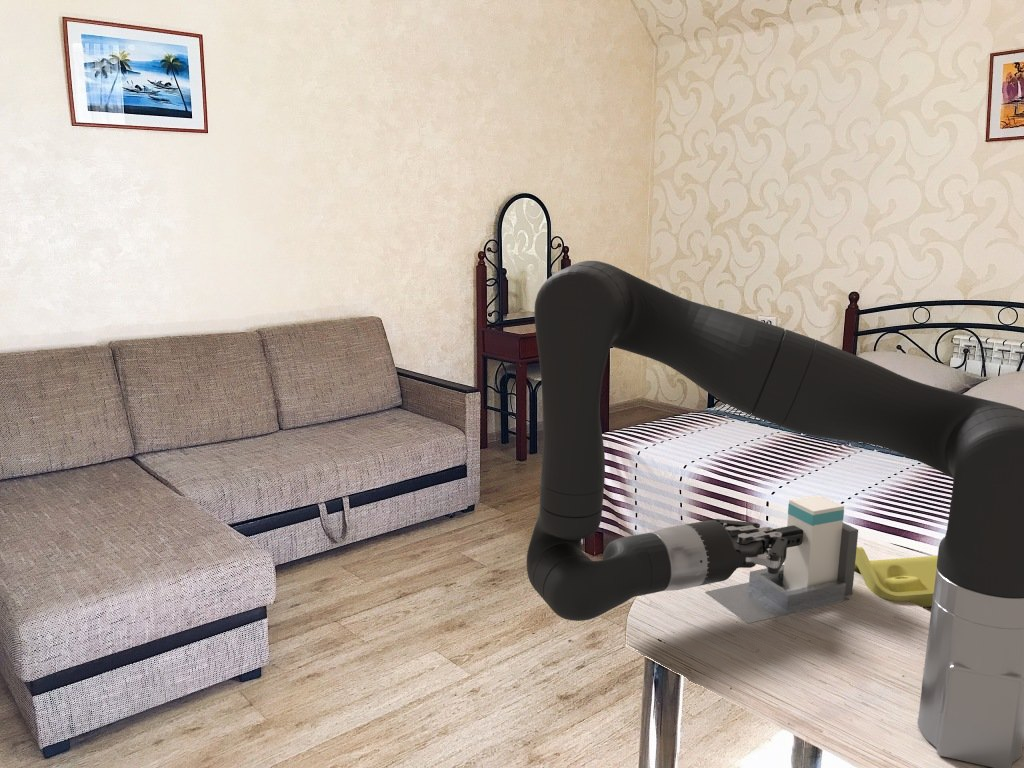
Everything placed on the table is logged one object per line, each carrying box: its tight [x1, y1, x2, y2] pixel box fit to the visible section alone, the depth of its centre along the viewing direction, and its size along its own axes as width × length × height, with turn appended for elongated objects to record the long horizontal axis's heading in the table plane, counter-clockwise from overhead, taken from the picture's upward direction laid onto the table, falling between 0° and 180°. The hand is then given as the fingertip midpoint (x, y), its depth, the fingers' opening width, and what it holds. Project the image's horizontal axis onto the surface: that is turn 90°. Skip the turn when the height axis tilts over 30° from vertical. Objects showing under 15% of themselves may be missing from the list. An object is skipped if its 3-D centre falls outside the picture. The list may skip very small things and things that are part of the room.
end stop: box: [837, 522, 859, 597], centre depth 113 cm, size 2×7×10 cm, turn 22°
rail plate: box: [704, 564, 850, 624], centre depth 110 cm, size 16×9×4 cm, turn 113°
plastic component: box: [854, 546, 938, 608], centre depth 115 cm, size 20×7×10 cm
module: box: [783, 494, 845, 590], centre depth 111 cm, size 5×5×12 cm
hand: (798, 534), depth 110 cm, fingers closed
